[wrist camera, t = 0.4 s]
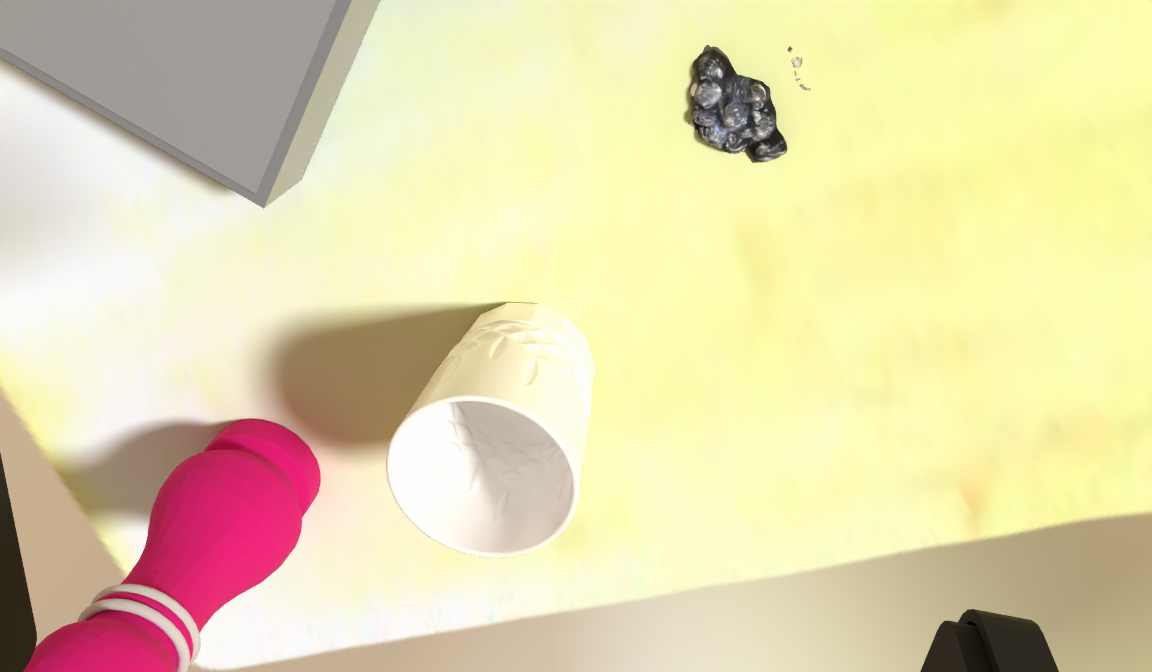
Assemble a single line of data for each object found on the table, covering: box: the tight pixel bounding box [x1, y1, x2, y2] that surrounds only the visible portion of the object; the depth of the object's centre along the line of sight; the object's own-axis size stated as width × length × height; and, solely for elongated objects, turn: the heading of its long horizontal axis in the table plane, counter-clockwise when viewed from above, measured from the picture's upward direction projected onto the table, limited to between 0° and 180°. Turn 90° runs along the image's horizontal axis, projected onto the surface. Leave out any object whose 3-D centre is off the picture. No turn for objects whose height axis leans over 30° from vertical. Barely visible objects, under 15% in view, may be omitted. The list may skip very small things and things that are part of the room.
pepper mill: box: [23, 420, 320, 672], centre depth 43 cm, size 7×7×20 cm
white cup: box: [386, 303, 595, 558], centre depth 42 cm, size 8×8×10 cm
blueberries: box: [688, 45, 811, 163], centre depth 39 cm, size 7×8×2 cm
